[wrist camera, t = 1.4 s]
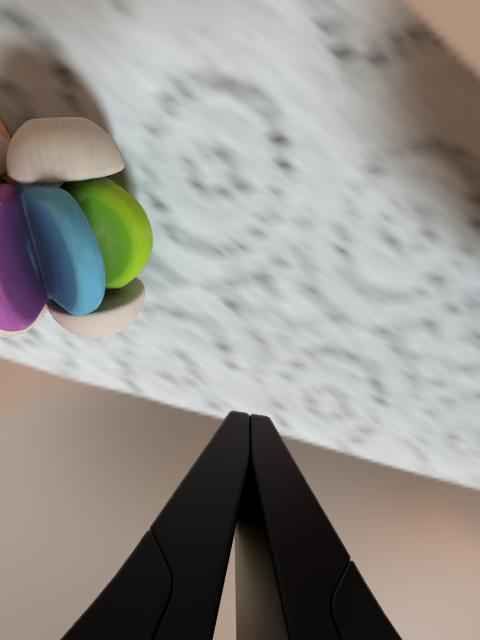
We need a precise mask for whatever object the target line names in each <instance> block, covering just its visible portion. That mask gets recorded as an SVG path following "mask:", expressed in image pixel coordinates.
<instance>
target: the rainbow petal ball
mask: <svg viewBox="0 0 480 640" xmlns="http://www.w3.org/2000/svg"><path fill="white" fill-rule="evenodd" d="M123 168H124V161H123V158H122V155H121V153H120V151H119V149H118V147H117V145H116V144H115V142H114V141H113V139H112V138H111V137H110V136H109V135H108V134H107V133H106V132H105V131H104V130H103V129H102V128H101V127H100V126H98V125H97V124H96V123H94V122H92V121H91V120H89V119H87V118H83V117H50V118H36V119H31V120H28V121H26V122H25V123H24V124H23V125H22V126H21V127H20V128H19V129H18V130H17V131H16V133H15V134H14V136H13V137H12V139H11V141H10V143H9V142H8V141H7V140H6V139H5V138H4V137H3V136H2V135H1V134H0V338H1V337H10V336H14V335H18V334H21V333H23V332H25V331H27V330H29V329H30V328H32V327H33V326H34V325H36V324H37V323H38V322H39V321H40V320H41V319H42V317H43V316H44V314H45V313H46V311H47V309H48V310H49V312H50V314H51V315H52V316H53V318H54V319H55V320H56V321H57V322H58V323H59V324H60V325H61V326H62V327H63V328H65V329H66V330H68V331H70V332H72V333H74V334H76V335H80V336H83V337H89V338H102V337H107V336H111V335H114V334H116V333H118V332H120V331H122V330H124V329H125V328H127V327H128V326H129V325H130V324H131V323H132V322H133V321H134V320H135V319H136V318H137V316H138V315H139V313H140V311H141V308H142V306H143V302H144V297H145V287H144V284H143V283H142V281H141V280H139V279H138V278H136V276H137V275H138V274H139V273H140V272H141V271H142V270H143V268H144V267H145V265H146V263H147V261H148V259H149V257H150V254H151V251H152V246H153V236H152V231H151V226H150V223H149V220H148V217H147V215H146V213H145V212H144V210H143V208H142V207H141V205H140V204H139V203H138V202H137V200H136V199H135V198H134V197H133V196H132V195H130V194H129V193H128V192H127V191H126V190H124V189H123V188H122V187H120V186H119V185H117V184H115V182H114V181H113V180H110V179H107V178H103V177H104V176H108V175H111V174H115V173H117V172H120V171H121V170H122V169H123ZM5 175H8V176H9V177H10V178H12V179H13V180H14V182H15V184H13V183H8V182H7V181H6V180H4V179H3V178H2V176H5Z"/></svg>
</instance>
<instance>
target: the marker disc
mask: <svg viewBox="0 0 480 640" xmlns="http://www.w3.org/2000/svg"><path fill="white" fill-rule="evenodd" d="M0 134H1V135H2V136H3V137H4V138H5V139H6V140H7V141H8V142H9V143H10V141H11V138H10V135H9V133H8V131H7V129H6V127H5V125H4V124H3V122H2V120H1V119H0ZM2 178H3V179H4V180H6V181H7V182H8V183H13V184H15V182H14V180H13V179H12V178H10V177H9V176H8V175H5V176H2Z"/></svg>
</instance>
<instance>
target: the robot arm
mask: <svg viewBox="0 0 480 640" xmlns="http://www.w3.org/2000/svg"><path fill="white" fill-rule="evenodd" d="M234 533H235V579H236V580H235V582H236V640H402V639H401V637H400V635H399V634H398V632H397V631H396V630H395V628H394V627H393V625H392V624H391V622H390V621H389V619H388V618H387V616H386V615H385V613H384V611H383V610H382V608H381V607H380V605H379V604H378V602H377V600H376V598H375V597H374V595H373V593H372V592H371V590H370V589H369V587H368V586H367V584H366V582H365V580H364V579H363V577H362V575H361V574H360V572H359V570H358V568H357V567H356V565H355V563H354V562H353V561H350V555H349V553H348V552H347V550H346V548H345V546H344V545H343V543H342V541H341V539H340V538H339V536H338V534H337V532H336V531H335V529H334V527H333V526H332V524H331V522H330V520H329V519H328V517H327V515H326V514H325V512H324V510H323V508H322V507H321V505H320V503H319V502H318V500H317V498H316V496H315V495H314V493H313V491H312V490H311V488H310V486H309V484H308V483H307V481H306V479H305V477H304V476H303V474H302V472H301V471H300V469H299V467H298V465H297V464H296V462H295V460H294V459H293V457H292V455H291V453H290V452H289V450H288V448H287V447H286V445H285V443H284V441H283V440H282V438H281V436H280V435H279V433H278V431H277V429H276V428H275V426H274V424H273V422H272V421H271V419H270V418H269V417H268V416H263V415H257V414H251V415H250V416H249V414H248V413H244V412H238V411H230V412H229V413H228V415H227V416H226V418H225V419H224V421H223V422H222V424H221V425H220V427H219V428H218V429H217V431H216V432H215V434H214V435H213V437H212V438H211V440H210V441H209V443H208V444H207V445H206V447H205V448H204V450H203V451H202V453H201V454H200V455H199V457H198V458H197V460H196V462H195V463H194V464H193V466H192V467H191V469H190V470H189V472H188V473H187V475H186V476H185V477H184V479H183V480H182V482H181V483H180V485H179V486H178V487H177V489H176V490H175V492H174V493H173V495H172V496H171V498H170V499H169V500H168V502H167V503H166V505H165V506H164V508H163V509H162V511H161V512H160V513H159V515H158V517H157V518H156V519H155V521H154V522H153V524H152V525H151V526H150V530H149V531H147V532H146V533H145V535H144V536H143V538H142V539H141V541H140V542H139V544H138V545H137V546H136V548H135V549H134V551H133V552H132V553H131V555H130V556H129V557H128V559H127V560H126V561H125V563H124V564H123V565H122V567H121V568H120V569H119V571H118V572H117V574H116V575H115V576H114V577H113V579H112V580H111V581H110V583H108V585H107V586H106V587H105V588H104V589H103V591H102V592H101V593H100V594H99V595H98V597H97V598H96V599H95V600H94V602H93V603H92V604H91V605H90V607H88V609H87V610H86V611H85V612H84V613H83V614H82V615H81V617H80V618H79V619H78V620H77V621H76V622H75V623H74V625H73V626H72V627H71V628H70V629H69V630H68V632H66V634H65V635H64V636H63V637H62V638H61V639H60V640H212V639H213V635H214V630H215V625H216V620H217V615H218V610H219V605H220V601H221V595H222V591H223V586H224V581H225V576H226V571H227V567H228V562H229V557H230V552H231V548H232V543H233V538H234Z"/></svg>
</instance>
